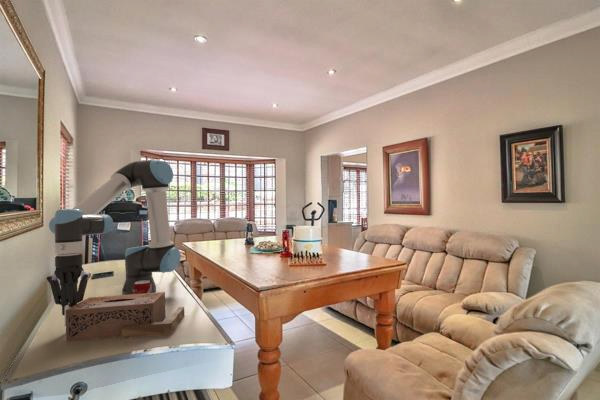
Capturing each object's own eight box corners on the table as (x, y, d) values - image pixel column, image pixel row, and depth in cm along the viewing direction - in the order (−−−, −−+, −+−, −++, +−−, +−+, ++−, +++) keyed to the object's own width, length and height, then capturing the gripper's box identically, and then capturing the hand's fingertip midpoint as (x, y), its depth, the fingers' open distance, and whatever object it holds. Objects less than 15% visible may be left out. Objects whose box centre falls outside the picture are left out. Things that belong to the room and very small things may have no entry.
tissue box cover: (66, 342, 96) (65, 310, 97) (89, 325, 111) (89, 297, 111) (153, 334, 101) (153, 303, 101) (165, 318, 115) (164, 291, 115)
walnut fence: (142, 319, 114) (142, 309, 114) (184, 316, 116) (184, 306, 116) (121, 338, 97) (121, 327, 97) (171, 334, 99) (171, 323, 99)
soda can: (144, 315, 119) (143, 284, 119) (129, 314, 120) (128, 283, 120) (155, 309, 125) (155, 279, 126) (141, 309, 127) (140, 279, 127)
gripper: (40, 256, 101) (40, 330, 100) (83, 254, 102) (83, 327, 102) (55, 253, 108) (56, 321, 107) (95, 252, 110) (96, 319, 109)
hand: (69, 324), depth 104 cm, fingers closed
